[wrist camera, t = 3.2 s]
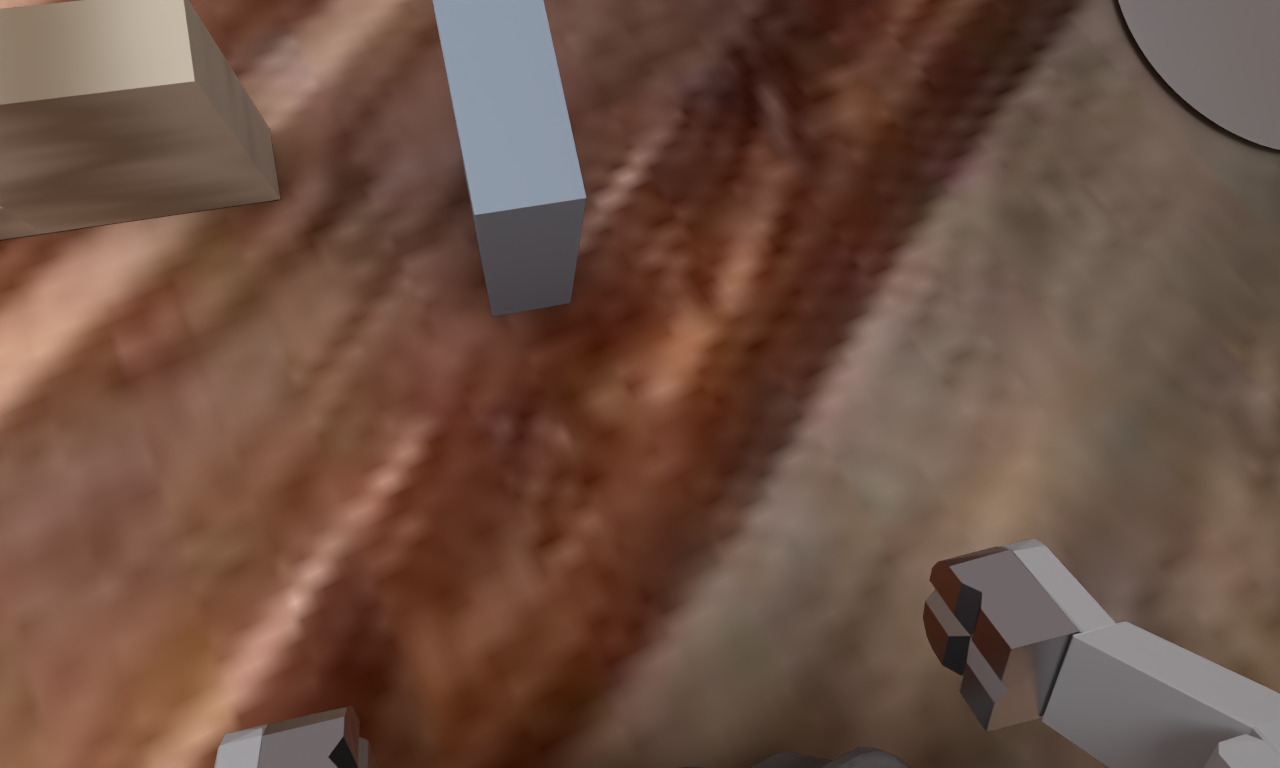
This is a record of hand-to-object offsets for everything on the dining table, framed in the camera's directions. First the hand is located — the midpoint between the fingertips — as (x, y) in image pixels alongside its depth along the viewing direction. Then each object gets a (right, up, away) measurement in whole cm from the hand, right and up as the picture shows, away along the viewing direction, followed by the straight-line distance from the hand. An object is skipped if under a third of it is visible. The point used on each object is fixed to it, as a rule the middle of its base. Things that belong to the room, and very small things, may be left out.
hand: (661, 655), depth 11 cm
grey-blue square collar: (-4, +9, +16) cm, 19 cm away
